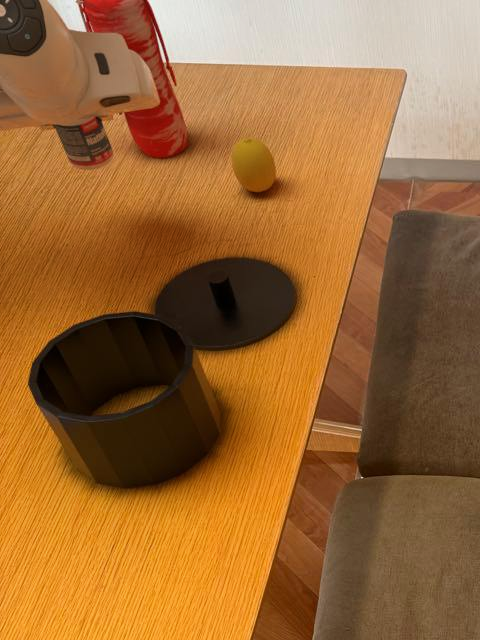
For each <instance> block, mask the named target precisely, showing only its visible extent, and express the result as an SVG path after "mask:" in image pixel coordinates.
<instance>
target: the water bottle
mask: <svg viewBox="0 0 480 640" xmlns="http://www.w3.org/2000/svg"><path fill="white" fill-rule="evenodd" d="M75 3H76V4H77V6H78V11H79V12H80V16H81V19H82V22H83V26H84V29H85V32H96V33H117V34H120V35H122V36H123V38H124V40H125V42H126V44H127V47H128V49H130V50H132V51H134V52H136V53H137V54H138V55H139V56H140V57H141V58H142V59H143V60H144V62H145V63H146V64H147V66H148V68H149V69H150V71H151V73H152V76H153V79H154V82H155V85H156V88H157V92H158V95H159V99H160V104H159V105H158V106H156V107H154V108H150V109H142V110H136V111H130V112H123V113H118V115H120V116H122V115H123V114H124V117H125V121H126V123H127V128H128V129H129V131H130V134H131V136H132V140H133V142H134V144H136V146H137V147H138V148H139V149H140V151H141V152H142V153H144V154H145V155H147V156H148V157H150V158H157V159H165V158H170V157H174V156H176V155H177V154H181V153H182V152H183V151H184V150H185V148H186V147H187V146H188V129H187V125H186V122H185V117H184V115H183V111H182V108H181V106H180V103H179V101H178V98H177V95H176V92H175V91H174V88H173V86H174V87H178V84H177V80H176V75H175V72H174V69H173V66H171V65H170V64H171V63H170V59H169V55H168V52H167V48H166V45H165V42H164V38H163V35H162V32H161V30H160V26H159V24H158V21H157V18H156V16H155V13H154V10H153V7H152V6H151V4H150V2H149V0H75ZM159 43H160V44H159ZM160 46H161V48H162V52H163V55H164V60H165V63H164V60H163V57H162V52H161V48H160ZM165 64H166V65H165ZM167 71H168V72H169V75H170V78H171V80H172V82H173V85H172V83H171V81H170V78H169V76H168V73H167Z"/></svg>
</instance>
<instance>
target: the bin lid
mask: <svg viewBox="0 0 480 640" xmlns="http://www.w3.org/2000/svg"><path fill="white" fill-rule="evenodd" d="M296 299H297V295H296V289H295V286H294V283H293V281H292V280H291V277H290V276H288V274H287V273H286V272H285V271H284V270H282V268H280V267H278V266H276V265H274V264H273V263H270V262H267V261H264V260H261V259H257V258H250V257H238V256H237V257H223V258H217V259H212V260H208V261H205V262H201V263H199V264H196V265H194V266H191V267H189V268H187V269H185V270H183V271H182V272H180V273H178V274H177V275H176V276H174V277H173V278H171V280H169V281H168V282H167V283H166V284H165V285H164V286H163V288H162V289H161V290H160V292H159V294H158V295H157V298H156V299H155V304H154V314H155V315H161V316H164V317H166V318H167V319H169V320H171V321H173V322H174V323H176V324H178V325H180V326H182V327H183V328H184V329H185V331H186V333H187V334H188V336H189V338H190V339H191V341H192V343H193V344H194V347H195V349H196V350H200V351H211V352H212V351H213V352H214V351H228V350H234V349H239V348H242V347H246V346H249V345H253V344H255V343H257V342H259V341H262V340H263V339H266V338H267V337H269V336H271V335H272V334H274V333H275V332H277V331H278V330H279V329H280V328H281V327H282V326H284V324H285V323H286V322H287V321H288V319H289V318H290V317H291V315H292V314H293V311H294V309H295V306H296Z"/></svg>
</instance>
